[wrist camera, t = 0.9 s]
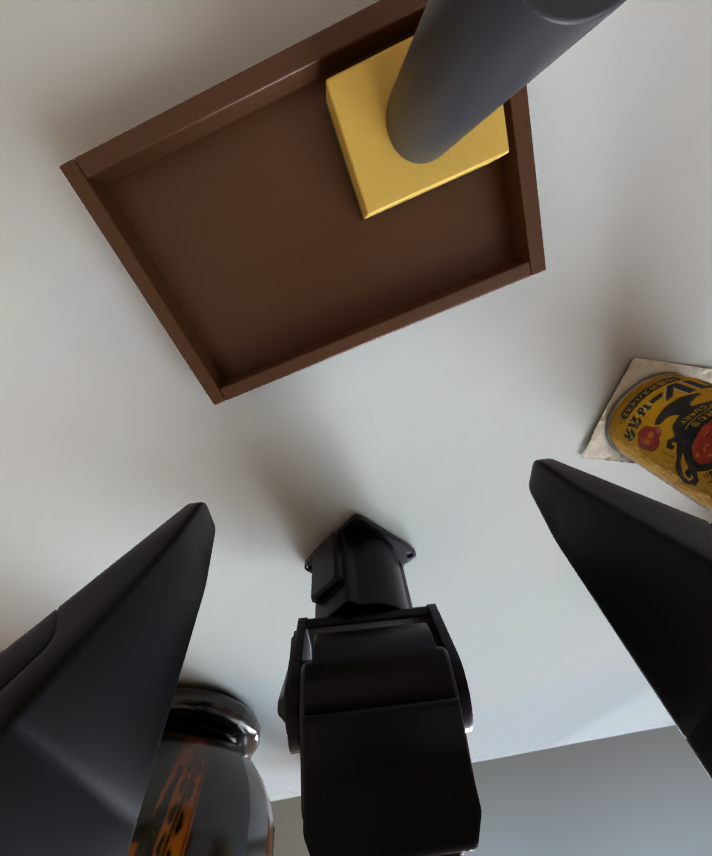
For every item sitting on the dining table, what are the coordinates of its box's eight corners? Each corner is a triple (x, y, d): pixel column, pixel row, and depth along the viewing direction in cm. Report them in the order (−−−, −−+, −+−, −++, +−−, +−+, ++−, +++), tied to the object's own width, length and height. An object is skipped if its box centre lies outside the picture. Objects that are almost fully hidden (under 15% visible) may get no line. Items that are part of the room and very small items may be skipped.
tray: (484, -24, 13) (511, -69, 11) (523, 268, 18) (546, 269, 16) (90, 176, 15) (57, 165, 13) (224, 391, 20) (214, 405, 18)
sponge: (464, 36, 13) (909, -659, 3) (485, 165, 15) (800, -6, 5) (325, 105, 14) (323, -294, 4) (362, 220, 16) (428, 164, 6)
